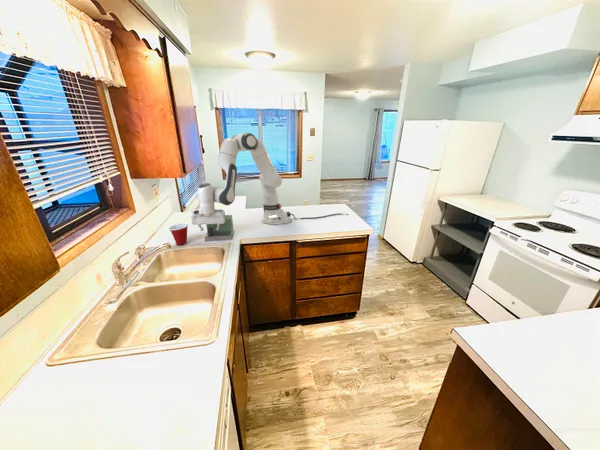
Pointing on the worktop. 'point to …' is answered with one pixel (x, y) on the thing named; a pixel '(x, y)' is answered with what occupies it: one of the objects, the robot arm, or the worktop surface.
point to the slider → (210, 231)
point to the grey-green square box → (221, 230)
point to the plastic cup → (179, 233)
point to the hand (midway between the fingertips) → (209, 230)
